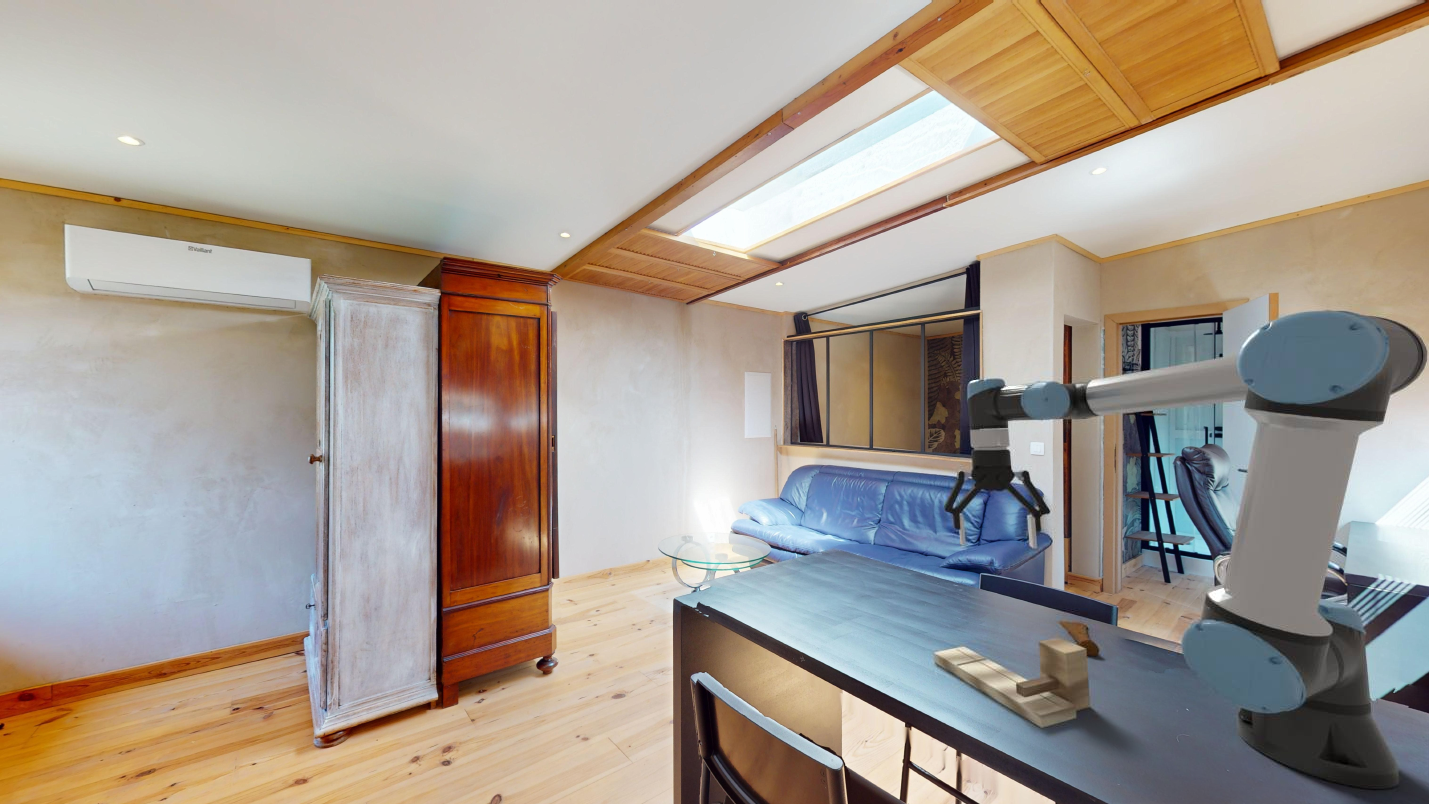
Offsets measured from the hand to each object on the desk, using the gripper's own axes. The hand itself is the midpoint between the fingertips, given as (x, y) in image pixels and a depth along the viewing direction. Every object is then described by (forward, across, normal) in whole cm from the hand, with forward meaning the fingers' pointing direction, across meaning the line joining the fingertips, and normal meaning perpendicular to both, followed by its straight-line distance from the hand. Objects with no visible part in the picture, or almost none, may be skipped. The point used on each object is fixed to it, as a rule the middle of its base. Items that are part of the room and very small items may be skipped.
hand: (997, 546), depth 105 cm
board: (+24, +4, +14) cm, 28 cm away
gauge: (+24, -3, +18) cm, 30 cm away
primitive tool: (+24, -18, -15) cm, 34 cm away
